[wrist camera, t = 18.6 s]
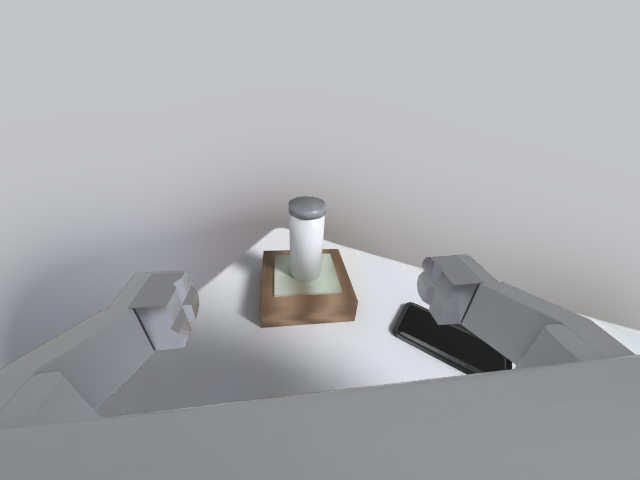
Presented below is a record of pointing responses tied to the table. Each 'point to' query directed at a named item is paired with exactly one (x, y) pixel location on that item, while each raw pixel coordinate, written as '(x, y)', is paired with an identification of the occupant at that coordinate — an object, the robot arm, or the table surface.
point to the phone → (448, 342)
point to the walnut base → (305, 292)
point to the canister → (306, 237)
